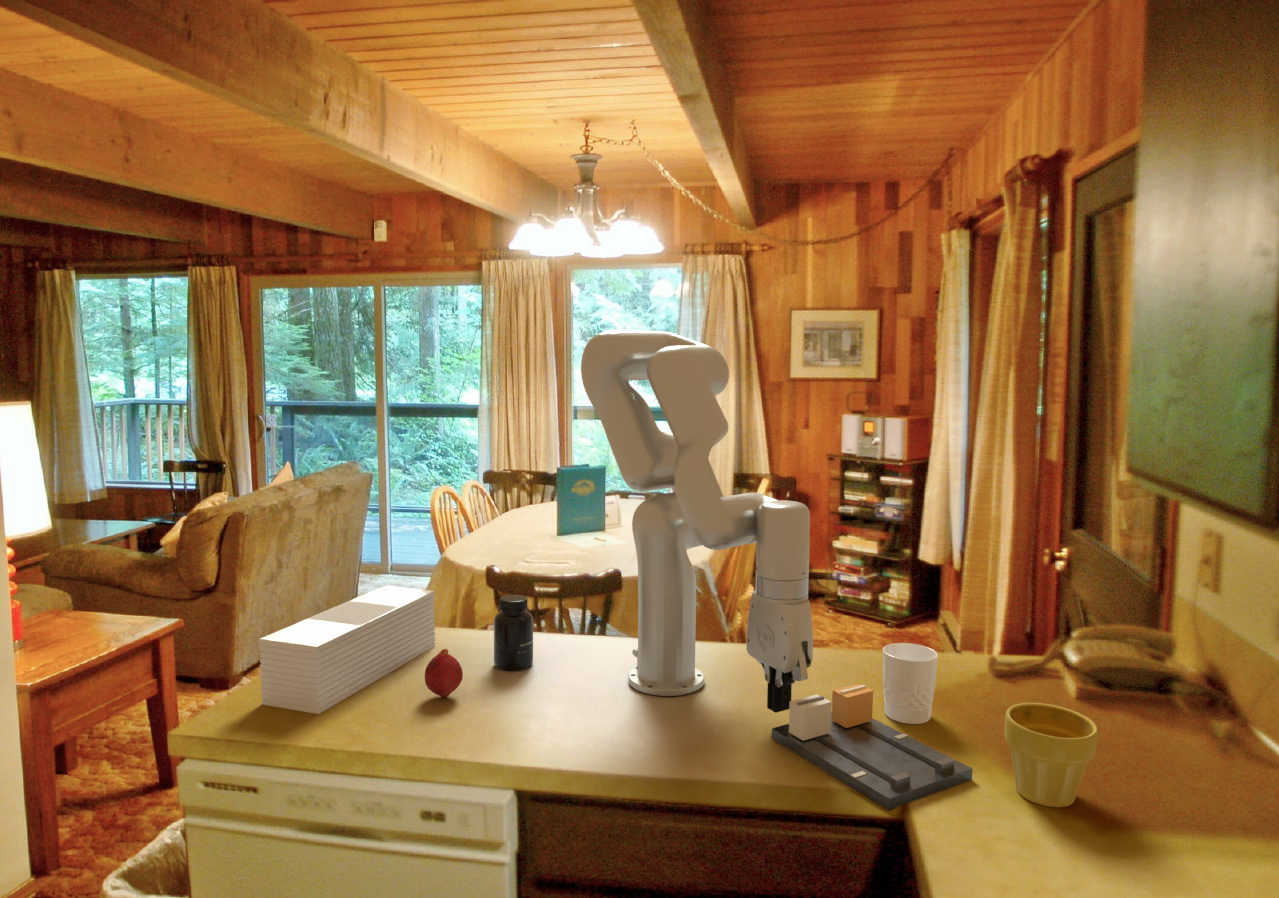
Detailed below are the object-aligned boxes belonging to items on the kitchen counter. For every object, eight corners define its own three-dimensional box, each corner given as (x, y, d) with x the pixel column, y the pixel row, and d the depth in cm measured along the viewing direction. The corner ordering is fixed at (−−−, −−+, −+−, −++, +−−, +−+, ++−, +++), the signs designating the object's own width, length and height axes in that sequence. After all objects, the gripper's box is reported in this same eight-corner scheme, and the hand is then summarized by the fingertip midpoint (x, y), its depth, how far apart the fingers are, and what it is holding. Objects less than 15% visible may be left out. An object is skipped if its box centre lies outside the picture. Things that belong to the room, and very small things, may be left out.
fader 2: (831, 719, 123) (832, 688, 122) (857, 712, 125) (858, 681, 125) (846, 727, 120) (847, 695, 119) (872, 720, 122) (873, 688, 122)
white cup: (938, 728, 124) (941, 662, 123) (882, 723, 125) (885, 658, 124) (931, 706, 132) (933, 644, 130) (878, 702, 133) (880, 640, 132)
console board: (771, 738, 120) (771, 720, 120) (849, 716, 128) (850, 699, 128) (888, 810, 101) (889, 788, 101) (971, 779, 109) (973, 759, 109)
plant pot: (1112, 811, 102) (1118, 733, 100) (1037, 820, 99) (1042, 741, 98) (1053, 770, 112) (1058, 698, 110) (983, 777, 109) (987, 705, 108)
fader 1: (788, 732, 119) (789, 699, 118) (815, 724, 121) (816, 692, 120) (803, 740, 116) (804, 706, 115) (830, 732, 118) (831, 699, 118)
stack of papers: (318, 715, 128) (316, 646, 127) (261, 705, 131) (258, 638, 130) (435, 647, 158) (434, 590, 157) (386, 640, 161) (384, 585, 160)
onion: (436, 708, 130) (434, 657, 129) (418, 696, 134) (417, 647, 133) (469, 698, 134) (468, 649, 133) (451, 687, 138) (450, 639, 137)
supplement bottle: (530, 672, 145) (529, 603, 144) (490, 671, 145) (489, 603, 144) (535, 657, 152) (535, 592, 150) (497, 657, 152) (497, 592, 151)
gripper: (729, 578, 127) (728, 696, 129) (796, 603, 114) (792, 734, 116) (769, 572, 130) (766, 686, 132) (837, 595, 118) (834, 722, 120)
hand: (779, 708), depth 124 cm, fingers closed
